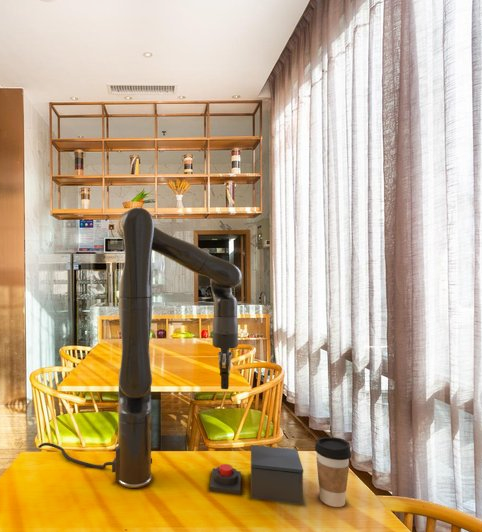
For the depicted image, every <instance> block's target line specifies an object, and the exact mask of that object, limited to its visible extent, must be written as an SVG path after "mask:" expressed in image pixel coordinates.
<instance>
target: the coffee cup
mask: <svg viewBox="0 0 482 532" xmlns="http://www.w3.org/2000/svg"><path fill="white" fill-rule="evenodd" d="M314 451H315V452H316V468H317V479H318V480H317V481H318V490H319V499H320V502H322V503H323V504H324V505H327V506H329V507H332V508H341V507H344V506H345V504H346V495H347V486H348V480H349V469H350V459H351V457H352V451H351V444H350V442H349V441H347V440H346V439H344V438H341V437H331V436H326V437H325V436H324V437H319V438H317V440H316V442H315V445H314Z"/></svg>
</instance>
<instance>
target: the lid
mask: <svg viewBox="0 0 482 532" xmlns="http://www.w3.org/2000/svg"><path fill="white" fill-rule="evenodd" d="M251 467H254V468H262V469H271V470H280V471H289V472H298V473H303V474H304V468H303V464H302V461H301V458H300V455H299V451H298V449H295V448H284V447H275V446H274V447H273V446H264V445H255V444H251V445H250V468H251Z"/></svg>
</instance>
